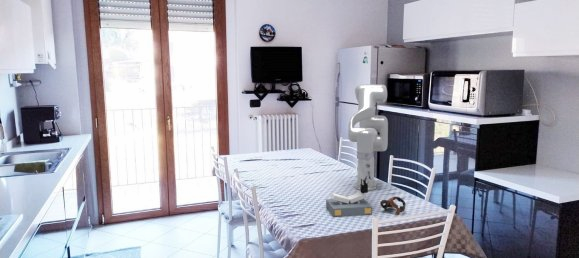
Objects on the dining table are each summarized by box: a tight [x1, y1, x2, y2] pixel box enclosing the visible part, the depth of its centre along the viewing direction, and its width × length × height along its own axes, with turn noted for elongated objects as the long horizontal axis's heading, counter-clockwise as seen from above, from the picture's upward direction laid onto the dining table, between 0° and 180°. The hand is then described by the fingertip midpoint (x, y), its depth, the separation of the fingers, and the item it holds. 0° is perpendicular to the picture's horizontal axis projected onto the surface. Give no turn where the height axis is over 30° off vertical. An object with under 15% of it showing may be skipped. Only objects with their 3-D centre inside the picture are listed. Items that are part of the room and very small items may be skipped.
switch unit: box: [325, 198, 373, 218], centre depth 191 cm, size 19×14×5 cm
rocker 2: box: [347, 191, 367, 203], centre depth 191 cm, size 8×4×2 cm, turn 98°
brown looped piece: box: [379, 196, 407, 215], centre depth 189 cm, size 12×10×8 cm
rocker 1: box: [330, 192, 350, 204], centre depth 190 cm, size 8×4×2 cm, turn 99°
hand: (364, 192), depth 191 cm, fingers closed
